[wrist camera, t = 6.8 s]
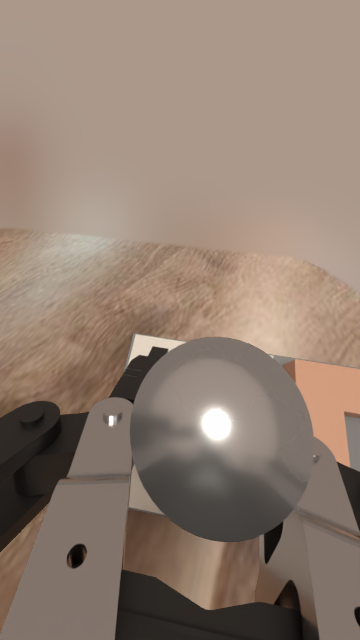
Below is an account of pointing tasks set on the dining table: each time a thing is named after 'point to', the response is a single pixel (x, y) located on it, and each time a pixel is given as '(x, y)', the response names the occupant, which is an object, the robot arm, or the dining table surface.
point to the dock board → (320, 397)
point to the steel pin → (222, 439)
